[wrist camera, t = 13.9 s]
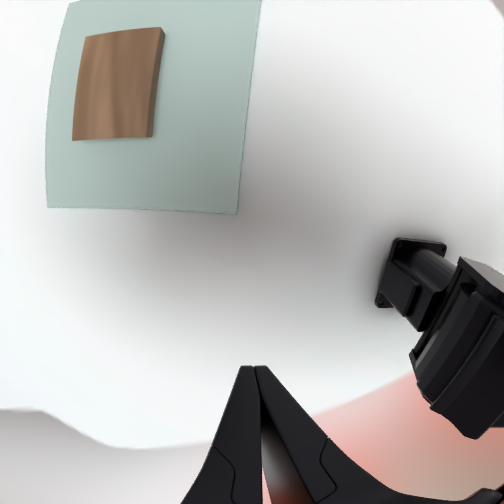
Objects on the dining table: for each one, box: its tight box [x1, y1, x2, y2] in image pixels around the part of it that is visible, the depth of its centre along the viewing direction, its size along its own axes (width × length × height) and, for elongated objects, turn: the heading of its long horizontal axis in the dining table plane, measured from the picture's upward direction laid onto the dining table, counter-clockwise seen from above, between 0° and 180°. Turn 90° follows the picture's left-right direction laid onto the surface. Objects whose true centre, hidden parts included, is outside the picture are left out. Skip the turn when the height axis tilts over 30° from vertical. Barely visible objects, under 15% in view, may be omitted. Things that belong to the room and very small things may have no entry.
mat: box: [45, 0, 261, 214], centre depth 14 cm, size 14×16×1 cm
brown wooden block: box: [72, 27, 165, 141], centre depth 13 cm, size 2×7×5 cm
